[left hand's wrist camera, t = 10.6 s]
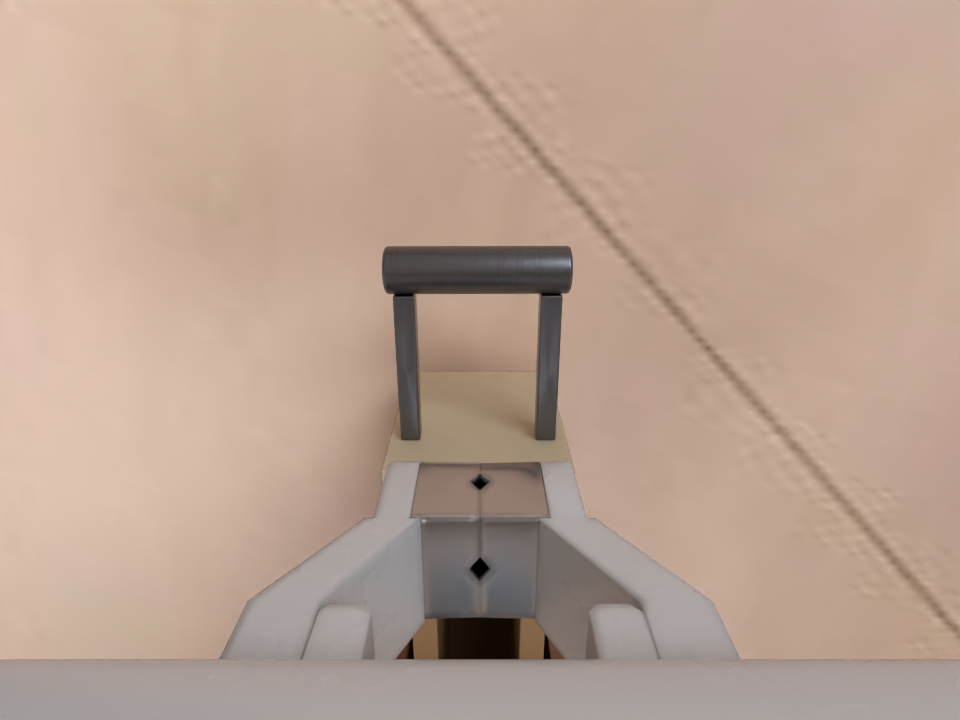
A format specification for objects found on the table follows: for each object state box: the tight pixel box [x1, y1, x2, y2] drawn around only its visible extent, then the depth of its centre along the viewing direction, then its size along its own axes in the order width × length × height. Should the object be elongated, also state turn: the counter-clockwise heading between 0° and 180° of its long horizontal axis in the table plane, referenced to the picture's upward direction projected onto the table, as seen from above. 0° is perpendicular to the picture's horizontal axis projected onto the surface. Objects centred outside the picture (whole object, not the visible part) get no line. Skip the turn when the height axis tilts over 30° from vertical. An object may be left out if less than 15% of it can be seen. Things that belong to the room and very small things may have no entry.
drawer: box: [381, 246, 575, 659], centre depth 22 cm, size 22×5×7 cm, turn 0°
